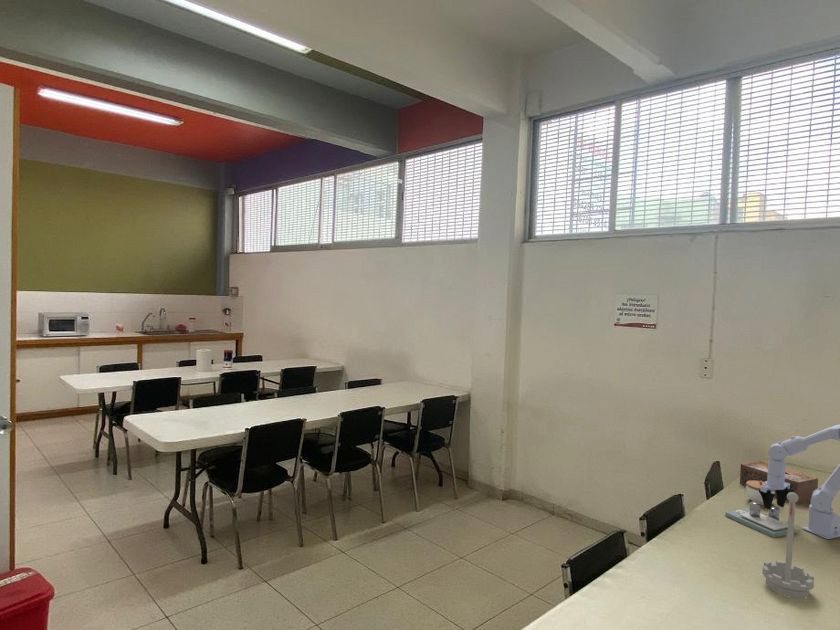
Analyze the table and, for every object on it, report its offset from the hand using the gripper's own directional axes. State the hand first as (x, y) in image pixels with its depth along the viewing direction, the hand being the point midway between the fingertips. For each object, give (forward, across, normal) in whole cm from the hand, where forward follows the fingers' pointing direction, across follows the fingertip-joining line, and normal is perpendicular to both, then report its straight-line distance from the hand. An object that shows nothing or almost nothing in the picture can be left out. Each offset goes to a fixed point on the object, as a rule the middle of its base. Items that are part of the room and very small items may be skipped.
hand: (773, 507), depth 212 cm
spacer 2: (+5, 0, 0) cm, 5 cm away
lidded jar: (+6, -13, -15) cm, 21 cm away
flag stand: (+6, +45, +35) cm, 57 cm away
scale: (+5, +9, +1) cm, 10 cm away
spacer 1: (+3, +9, -2) cm, 10 cm away
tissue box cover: (+6, -33, -21) cm, 40 cm away
